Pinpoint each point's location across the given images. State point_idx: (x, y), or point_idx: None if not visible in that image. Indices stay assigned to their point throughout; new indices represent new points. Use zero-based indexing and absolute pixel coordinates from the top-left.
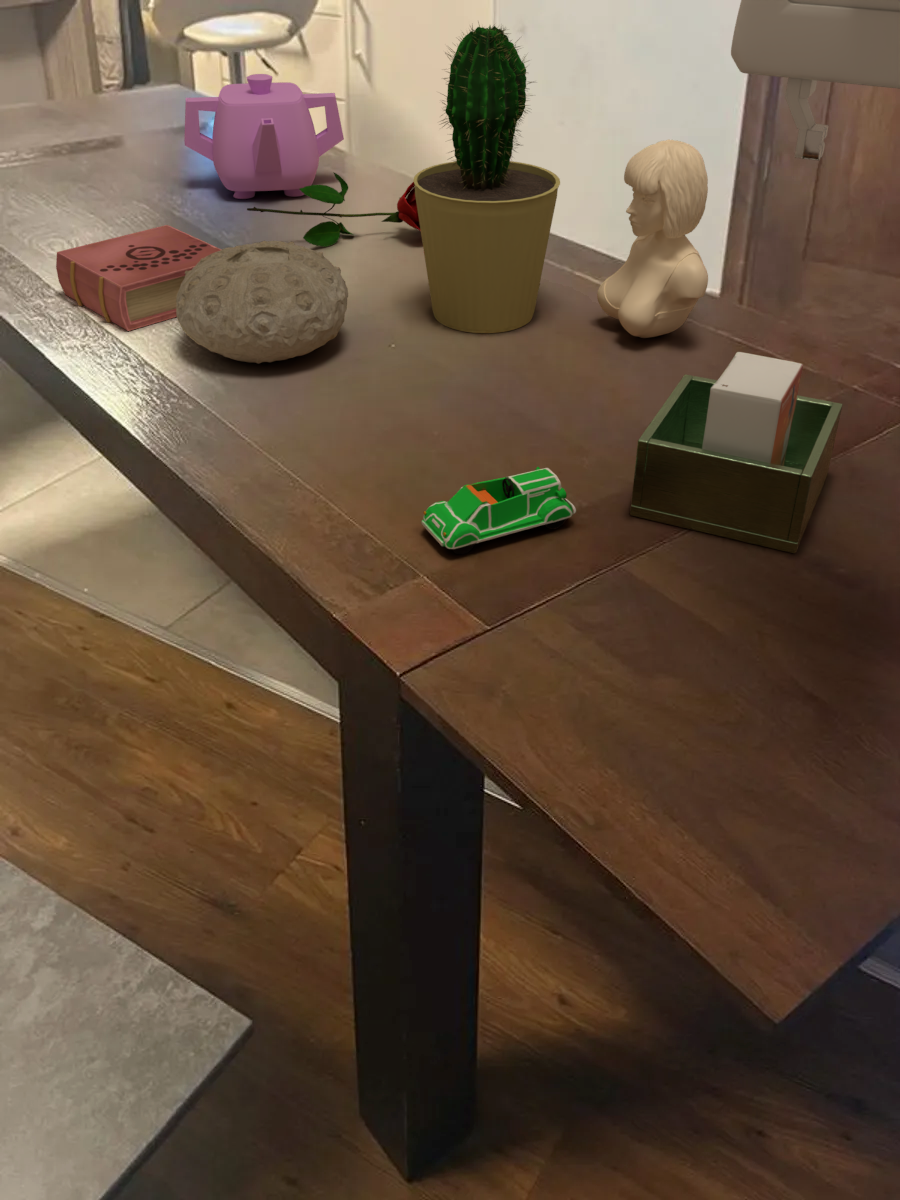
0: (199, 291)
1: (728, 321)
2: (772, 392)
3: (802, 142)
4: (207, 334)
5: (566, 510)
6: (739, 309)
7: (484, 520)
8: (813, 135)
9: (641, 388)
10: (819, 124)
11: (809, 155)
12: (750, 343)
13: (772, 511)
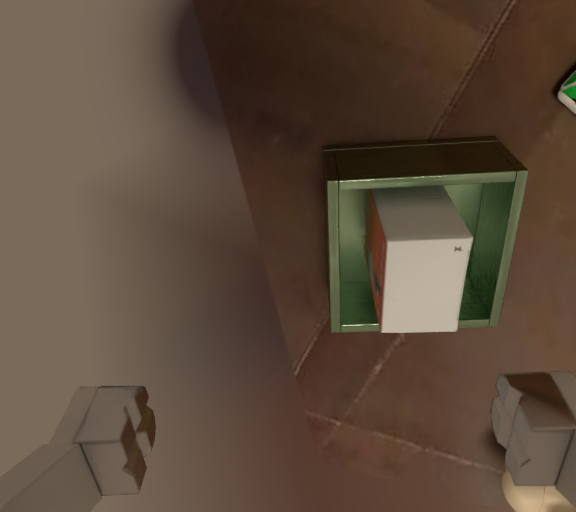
0: None
1: (464, 479)
2: (400, 255)
3: (571, 399)
4: None
5: (571, 83)
6: (458, 499)
7: None
8: (553, 418)
9: (523, 356)
10: (541, 483)
11: (531, 375)
12: (438, 455)
13: (356, 159)
